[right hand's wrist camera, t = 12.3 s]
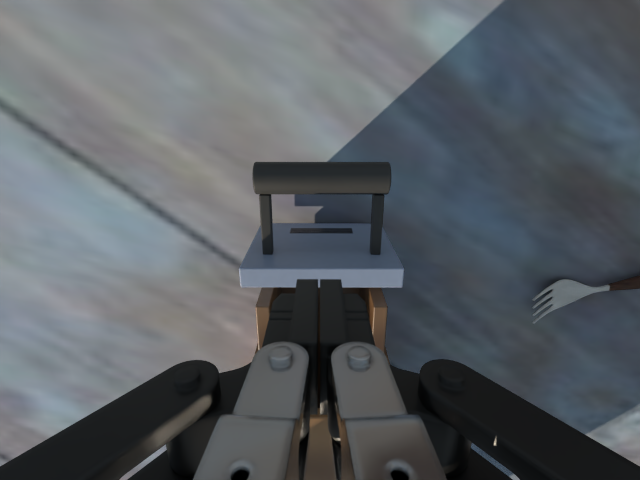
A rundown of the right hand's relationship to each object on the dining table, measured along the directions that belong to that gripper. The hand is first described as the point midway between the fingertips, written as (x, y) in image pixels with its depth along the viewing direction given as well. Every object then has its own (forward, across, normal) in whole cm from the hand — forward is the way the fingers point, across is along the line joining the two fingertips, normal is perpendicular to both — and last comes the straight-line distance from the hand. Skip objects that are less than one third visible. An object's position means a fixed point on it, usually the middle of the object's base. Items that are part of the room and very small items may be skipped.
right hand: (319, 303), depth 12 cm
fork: (+16, +25, -7) cm, 30 cm away
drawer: (+15, 0, -9) cm, 17 cm away
